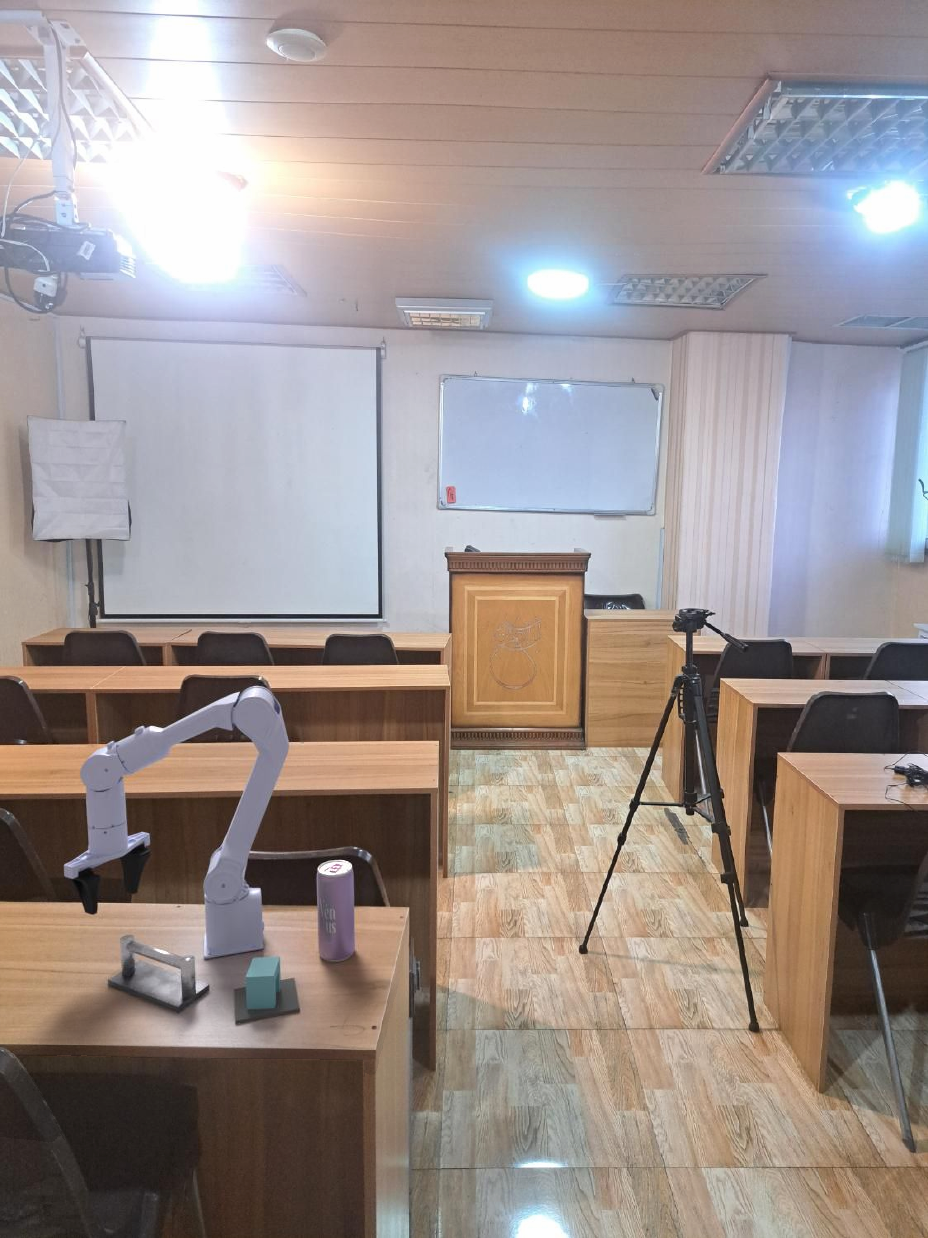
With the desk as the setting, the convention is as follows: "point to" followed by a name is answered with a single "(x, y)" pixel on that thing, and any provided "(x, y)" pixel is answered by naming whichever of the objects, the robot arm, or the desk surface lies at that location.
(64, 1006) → the desk surface
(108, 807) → the robot arm
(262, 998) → the teal block
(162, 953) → the stand
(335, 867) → the beverage can
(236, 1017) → the mat
